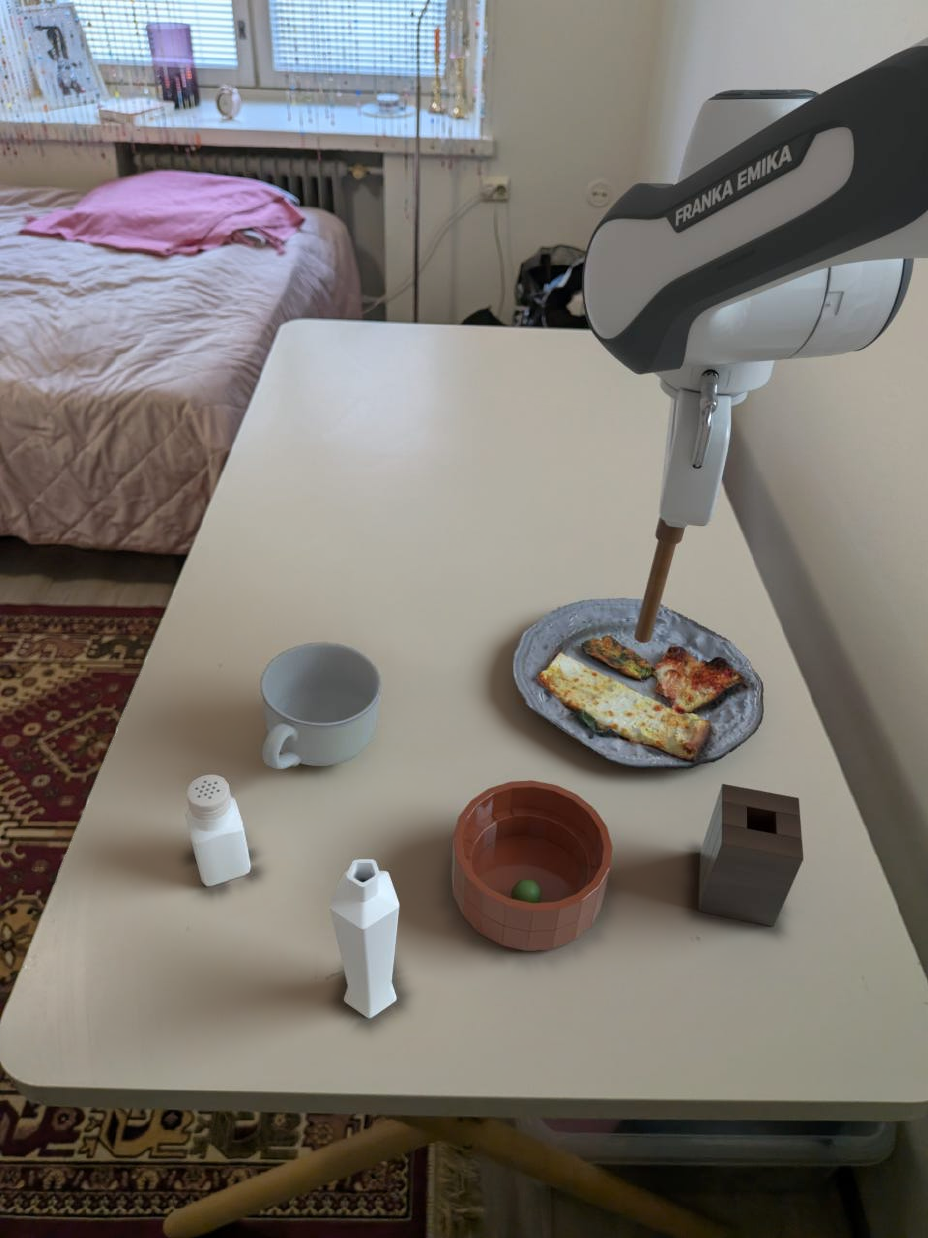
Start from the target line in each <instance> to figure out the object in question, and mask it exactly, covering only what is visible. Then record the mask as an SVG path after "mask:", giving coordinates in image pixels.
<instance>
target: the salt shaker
mask: <svg viewBox="0 0 928 1238" xmlns="http://www.w3.org/2000/svg"><path fill="white" fill-rule="evenodd" d="M185 796H186V800H187V805H188V808H187V809H186V811H185V813H184V815H185V816H184V817H185V820H186V824H187V829H188V833H189V837H190V841H191V845H192V849H193V854H194V857H195V860H196V864H197V868H198V872H199V875H200V879H201V882H202V883H203V884H204V885H205V886H206V887H213V886H215V885H216V886H217V885H219V884H222V883H225V882H228V881H231V880H234V879H238V878H240V877H243V876H246V875H247V874H248V873H250V871H251V867H252V866H251V865H252V864H251V860H250V854H249V853H250V852H249V848H248V842H247V838H246V833H245V832H246V831H245V827H244V823H243V819H242V817H241V814H240V809H239V807H238V804H237V801H236V798H234V797H232V795H231V790H230V785H229V782H227V781H226V779H225V778H224V777H222V776H220V775H217V774H215V773H213V774H204V775H203V774H202V775H201V776H199V777H198V778H196V779H193V780H192V781H191V783H190V784H189V785H188V786H187V788H186V795H185Z"/></svg>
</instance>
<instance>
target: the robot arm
mask: <svg viewBox="0 0 928 1238" xmlns="http://www.w3.org/2000/svg"><path fill="white" fill-rule="evenodd" d="M584 254H585V255H584V259H583V266H582V273H581V274H582V276H581V277H582V278H581V294H582V295H581V296H582V304H583V310H584V314H585V318H586V322H587V325H588V327H589V329H590V331H591V333H592V334H593V336H594V337H595V338H596V339H597V341H598V342H599V343H600V344H601V345H602V347H604V349H605V350H606V351H608V353H610V355H612V356H613V358H615V360H617V361H618V362H619V363H620V364H622V365H623V366H624V367H625V368H627V369H629V371H631V372H633V373H634V374H636V375H648V374H654V375H655V376H656V377H658V378H660V379H659V386H660V389H661V390H662V391H663V393H664V394H666V395H667V396H668V397H670V402H669V403H670V404H669V412H668V423H667V431H666V441H665V451H664V461H663V469H662V480H661V488H660V498H659V507H658V508H659V509H658V511H659V512H658V513H659V516H660V517H661V519H662V520H664V521H665V523H666V524H667V525H668V526H671V527H678V528H685V529H686V527H687V528H688V526H693V527H707V526H708V525H709V524H710V522H711V521H712V519H713V517H714V514H715V510H716V507H717V506H716V505H717V502H718V498H719V493H720V488H721V484H722V479H723V474H724V472H725V471H724V469H725V465H726V460H727V455H728V451H729V445H730V440H731V432H732V431H731V430H732V407H734V406H737V405H739V404H741V403H743V402H744V401H745V400H746V399H747V396H748V393H749V392H751V391H755V390H757V389H760V388H761V387H763V386H765V385H766V384H767V383H769V380H770V379H771V376H772V372H773V368H774V364H775V362H776V361H783V360H794V359H795V360H797V359H809V358H823V357H832V356H840V355H844V354H848V353H852V352H860V351H862V350H864V349H866V348H868V347H869V346H870V345H872V344H873V343H874V342H876V340H878V339H879V338H880V337H881V336H882V335H883V334H884V333H885V331H886V330H887V329H888V328H889V326H890V325H891V324H892V323H893V321H894V320H895V318H896V316H897V315H898V313H899V311H900V309H901V307H902V305H903V303H904V301H905V298H906V295H907V292H908V290H909V287H910V283H911V279H912V275H913V270H914V264H915V259H928V36H926V37H925V38H923V39H921V40H919V41H918V42H915V43H914V44H913V45H911V46H908V47H907V48H905V49H903V50H901V51H899V52H897V53H894V54H892V55H890V56H888V57H887V58H885V59H883V60H881V61H880V62H877V63H876V64H874V65H872V66H870V67H868V68H867V69H865V70H863V71H861V72H859V73H857V74H855V75H853V76H852V77H851V76H850V77H849V78H848V79H845V80H843V81H841V82H840V83H839V82H838V83H837V84H835V85H833V86H832V87H830V88H828V89H826V90H824V91H823V92H821V93H820V92H817V91H814V90H810V89H804V88H802V89H800V88H799V89H798V88H797V89H795V88H794V89H778V88H776V89H730V90H724V91H721V92H718V93H715V94H714V95H713V96H711V97H709V98H708V99H706V100H704V102H703V103H702V105H701V107H700V108H699V111H698V113H697V116H696V118H695V120H694V123H693V125H692V128H691V132H690V135H689V138H688V141H687V143H686V147H685V152H684V155H683V159H682V161H681V165H680V170H679V174H678V179H677V182H676V183H675V184H674V183H662V182H661V183H655V182H638V183H635V184H634V185H632V186H630V188H629V189H628V190H626V191H625V192H624V193H623V194H622V195H621V196H620V197H619V198H618V199H617V200H616V201H615V202H614V203H613V205H612V206H611V207H610V208H609V209H608V210H607V212H606V213H605V214H604V215H603V217H602V218H601V220H600V221H599V222H598V224H597V225H596V226H595V228H594V230H593V232H592V234H591V236H590V239H589V241H588V244H587V247H586V251H585V253H584Z"/></svg>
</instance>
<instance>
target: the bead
mask: <svg viewBox="0 0 928 1238" xmlns="http://www.w3.org/2000/svg"><path fill="white" fill-rule="evenodd" d="M511 897H512V899H515V900H520V901H524V902H529V903H540V900H541V890H540V887H539V886H538V885H537V884H536V883H535V882H534V881H532V880H529V879H523V880H520V881H518V882H517V883H516V884H515V885H514V886H513V888H512V892H511Z"/></svg>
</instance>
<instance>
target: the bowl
mask: <svg viewBox="0 0 928 1238" xmlns="http://www.w3.org/2000/svg"><path fill="white" fill-rule="evenodd" d="M613 849H614V848H613V843H612V840H611V837H610V833H609V828H608V826H607V824H606V823H605V822H604V820H603V818H602V817H601V815H600V814H599V813H598V811H597V810H596V808H594V807H593V806H592V805H591V804H590V803H588V802H587V801H586V800H584V799H583V798H582V797H581V796H580V795H578V794H577V793H575V792H572V791H570V790H568V789H567V788H564V787H561V786H560V785H558V784H553V783H547V782H544V781H543V782H542V781H536V780H515V781H513V780H512V781H508V782H505V783H501V784H498V785H495V786H492V787H489V788H487V789H486V790H484V791H482V792H481V793H479V795H477V796H476V797H473V798H472V799H471V800H470V801H469V802H468V804H467V805H466V807H465V808H464V809H463V810H462V812H461V813H460V814H459V816H458V818H457V822H456V825H455V829H454V832H453V837H452V857H451V858H452V859H451V860H452V861H451V884H452V885H451V886H452V896H453V898H454V900H455V902H456V904H457V906H458V909H459V911H460V912H461V915H462V916H463V918H464V919H465V920H466V921H467V922H468V923H469V924H470V926H472V927H473V928H474V929H475V930H476V932H478V933H479V934H480V935H482V936H484V937H486V938H488V939H490V940H491V941H493V942H495V943H497V944H498V945H501V946H503V947H506V948H512V949H516V950H520V951H521V950H522V951H525V952H531V951H546V950H548V951H549V950H553V949H555V948H559V947H562V946H564V945H566V944H569V943H571V942H573V941H576V940H577V939H578V938H579V937H580V936H581V935H582V934H584V933H585V932H586V931H587V930H588V929H589V928H591V926H592V925H593V924H594V922H595V920H596V918H597V916H598V914H599V913H600V911H601V910H602V906H603V902H604V898H605V892H606V889H607V883H608V879H609V876H610V870H611V866H612V865H611V864H612V857H613ZM523 879H529V880H532V881H534V882H535V883H536V884H537V885H538V886H539V887H540V890H541V900H540V903H529V902H524V901H520V900H515V899H512V897H511V892H512V888H513V886H514V885H515V884H516V883H517V882H518V881H520V880H523Z"/></svg>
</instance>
